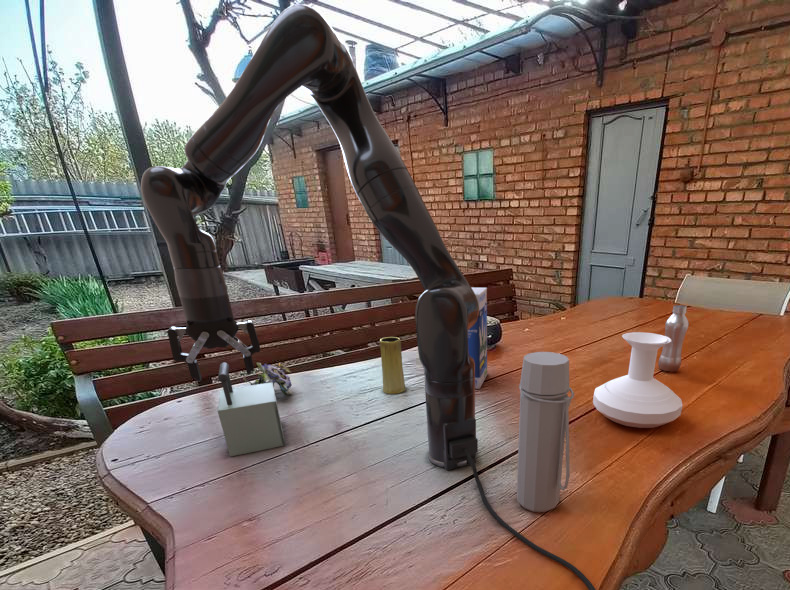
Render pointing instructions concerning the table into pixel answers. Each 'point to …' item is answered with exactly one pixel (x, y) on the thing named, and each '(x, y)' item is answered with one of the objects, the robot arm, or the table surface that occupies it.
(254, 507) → the table surface
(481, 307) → the string lights box
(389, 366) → the vase
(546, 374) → the water bottle
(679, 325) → the plastic bottle
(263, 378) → the passion flower
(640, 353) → the white flared vase
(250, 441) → the pale green open box
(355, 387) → the table surface
